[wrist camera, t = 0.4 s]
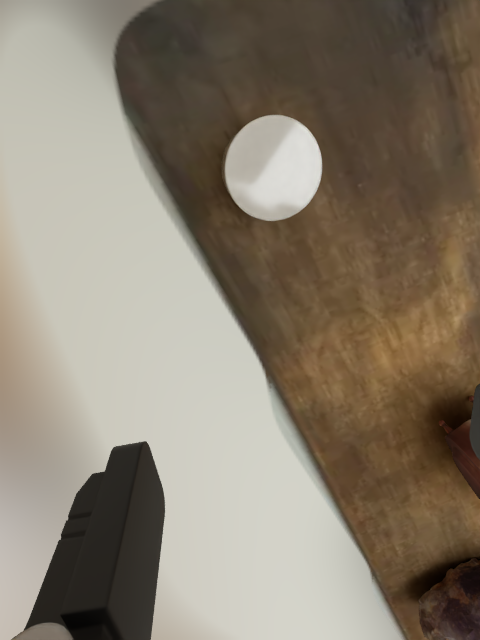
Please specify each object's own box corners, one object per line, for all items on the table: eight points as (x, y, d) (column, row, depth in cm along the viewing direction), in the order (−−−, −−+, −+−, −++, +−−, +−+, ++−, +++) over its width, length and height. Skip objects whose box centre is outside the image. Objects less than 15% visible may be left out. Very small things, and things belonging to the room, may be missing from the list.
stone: (214, 128, 21) (216, 123, 17) (301, 115, 21) (319, 107, 18) (228, 218, 22) (232, 228, 19) (308, 205, 23) (325, 212, 19)
